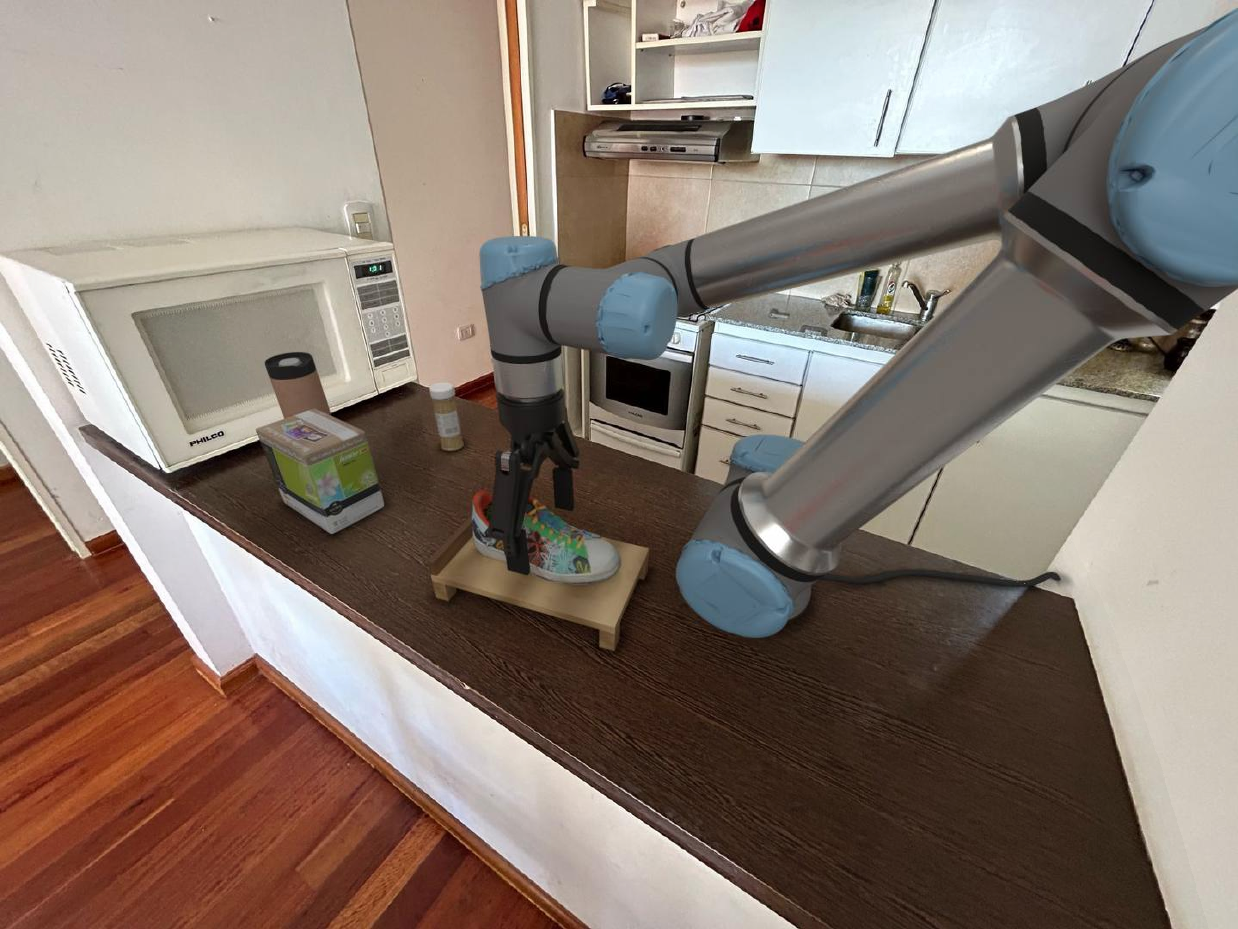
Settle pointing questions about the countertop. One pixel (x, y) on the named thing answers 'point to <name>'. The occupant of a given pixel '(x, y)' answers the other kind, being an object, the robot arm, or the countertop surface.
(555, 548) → the sneaker
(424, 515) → the countertop surface
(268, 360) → the travel mug
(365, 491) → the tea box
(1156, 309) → the robot arm
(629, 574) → the platform
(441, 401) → the sprinkles bottle
